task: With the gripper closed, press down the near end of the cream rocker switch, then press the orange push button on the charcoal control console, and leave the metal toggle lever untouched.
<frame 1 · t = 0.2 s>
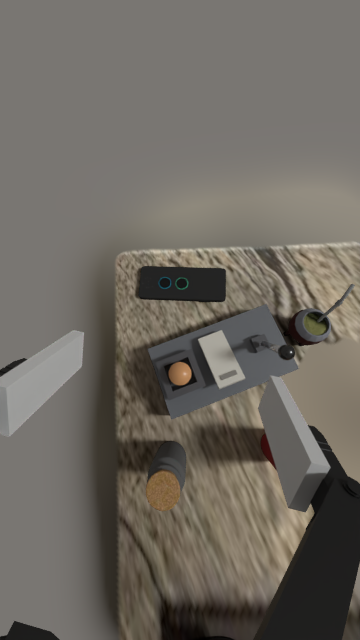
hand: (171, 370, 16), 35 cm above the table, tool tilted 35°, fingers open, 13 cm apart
rocker: (220, 358, 44), point 7 cm above the table, hinge at 12.0°
console: (218, 360, 51), on the table
bottle: (171, 456, 46), on the table
mate gourd: (297, 330, 52), on the table
push button: (180, 373, 42), point 8 cm above the table, slide at 0.0 cm
toggle lever: (280, 350, 38), point 13 cm above the table, hinge at -20.0°
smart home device: (182, 285, 56), on the table
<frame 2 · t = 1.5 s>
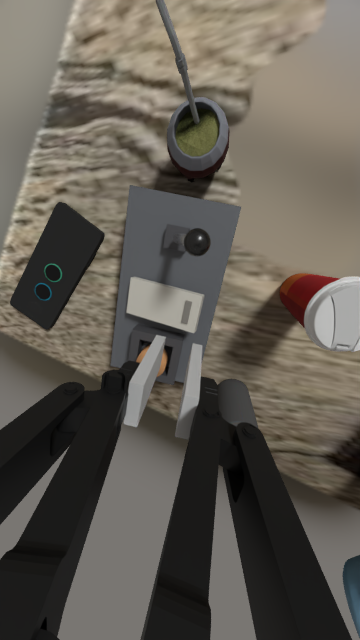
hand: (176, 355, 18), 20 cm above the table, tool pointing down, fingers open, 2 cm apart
rocker: (163, 304, 31), point 7 cm above the table, hinge at 12.0°
paper cup: (298, 291, 36), on the table
console: (172, 290, 38), on the table
bottle: (231, 391, 42), on the table
mate gourd: (197, 154, 32), on the table
push button: (152, 360, 33), point 8 cm above the table, slide at 0.0 cm
toggle lever: (191, 241, 22), point 13 cm above the table, hinge at -20.0°
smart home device: (59, 270, 40), on the table
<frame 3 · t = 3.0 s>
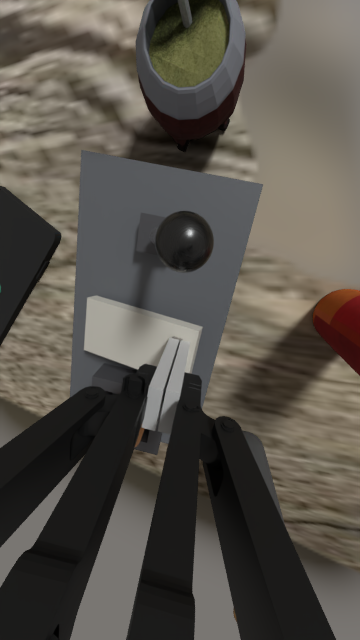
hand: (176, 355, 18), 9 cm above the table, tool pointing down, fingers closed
rocker: (138, 339, 20), point 7 cm above the table, hinge at 11.6°, touching gripper
paper cup: (339, 314, 24), on the table
console: (157, 311, 26), on the table
bottle: (240, 446, 31), on the table
mate gourd: (191, 107, 21), on the table
push button: (123, 422, 21), point 8 cm above the table, slide at 0.0 cm
toggle lever: (175, 240, 11), point 13 cm above the table, hinge at -20.0°
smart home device: (0, 281, 28), on the table
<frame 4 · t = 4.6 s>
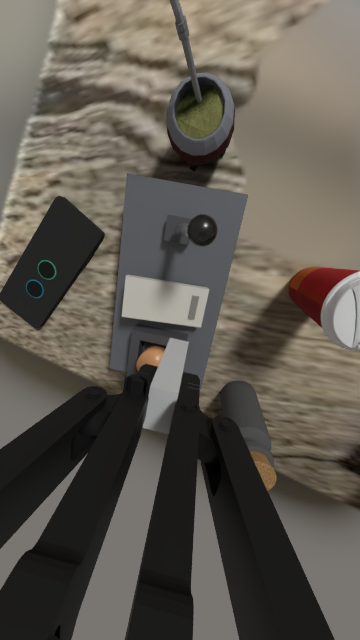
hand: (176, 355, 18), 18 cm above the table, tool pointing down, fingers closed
rocker: (165, 302, 29), point 7 cm above the table, hinge at -11.6°
paper cup: (308, 286, 33), on the table
console: (173, 287, 35), on the table
bottle: (237, 394, 40), on the table
mate gourd: (199, 140, 29), on the table
push button: (154, 362, 30), point 8 cm above the table, slide at 0.0 cm
toggle lever: (195, 230, 20), point 13 cm above the table, hinge at -20.0°
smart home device: (53, 267, 37), on the table
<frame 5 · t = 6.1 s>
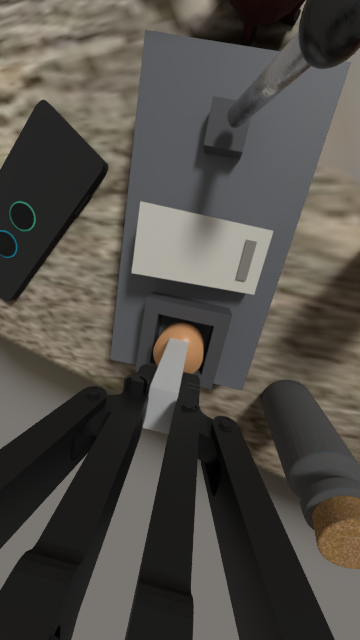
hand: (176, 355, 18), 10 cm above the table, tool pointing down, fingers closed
rocker: (201, 251, 18), point 7 cm above the table, hinge at -12.1°
console: (204, 244, 25), on the table
bottle: (285, 398, 29), on the table
mate gourd: (257, 0, 19), on the table
push button: (179, 348, 20), point 8 cm above the table, slide at 0.1 cm, touching gripper
toggle lever: (300, 53, 9), point 13 cm above the table, hinge at -20.0°
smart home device: (33, 216, 27), on the table
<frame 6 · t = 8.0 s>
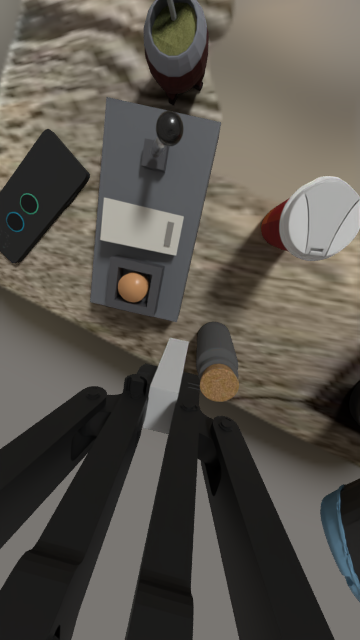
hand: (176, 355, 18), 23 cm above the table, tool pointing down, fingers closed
rocker: (142, 228, 31), point 7 cm above the table, hinge at -12.1°
paper cup: (279, 226, 36), on the table
console: (153, 226, 37), on the table
bottle: (213, 336, 43), on the table
mate gourd: (178, 74, 31), on the table
push button: (134, 286, 34), point 7 cm above the table, slide at 1.5 cm
toggle lever: (165, 135, 22), point 13 cm above the table, hinge at -20.0°
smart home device: (36, 203, 38), on the table
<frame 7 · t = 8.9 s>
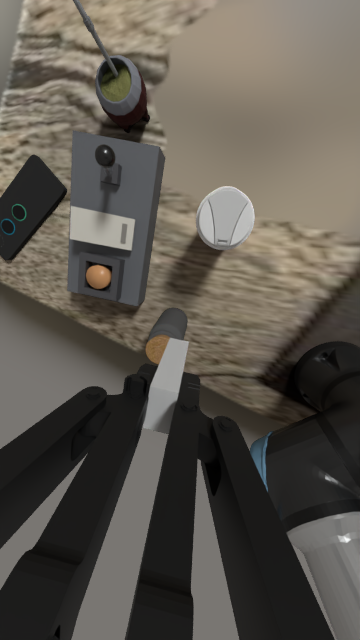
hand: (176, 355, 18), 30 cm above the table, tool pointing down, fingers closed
rocker: (103, 229, 39), point 7 cm above the table, hinge at -12.1°
paper cup: (220, 226, 43), on the table
console: (118, 228, 45), on the table
bottle: (174, 320, 50), on the table
mate gourd: (131, 109, 39), on the table
push button: (100, 276, 42), point 7 cm above the table, slide at 1.5 cm
toggle lever: (106, 160, 30), point 13 cm above the table, hinge at -20.0°
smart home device: (25, 212, 47), on the table
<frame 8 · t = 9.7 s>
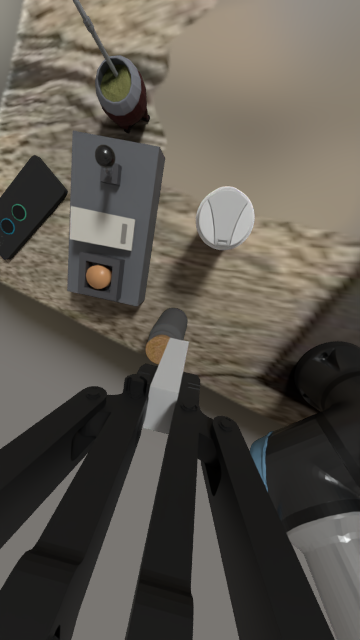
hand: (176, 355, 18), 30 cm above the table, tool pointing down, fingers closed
rocker: (103, 229, 39), point 7 cm above the table, hinge at -12.1°
paper cup: (220, 226, 43), on the table
console: (118, 228, 45), on the table
bottle: (174, 320, 50), on the table
mate gourd: (130, 109, 39), on the table
push button: (100, 276, 42), point 7 cm above the table, slide at 1.5 cm
toggle lever: (106, 160, 30), point 13 cm above the table, hinge at -20.0°
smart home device: (25, 212, 47), on the table
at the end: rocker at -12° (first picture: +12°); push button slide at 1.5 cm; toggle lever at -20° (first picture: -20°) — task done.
